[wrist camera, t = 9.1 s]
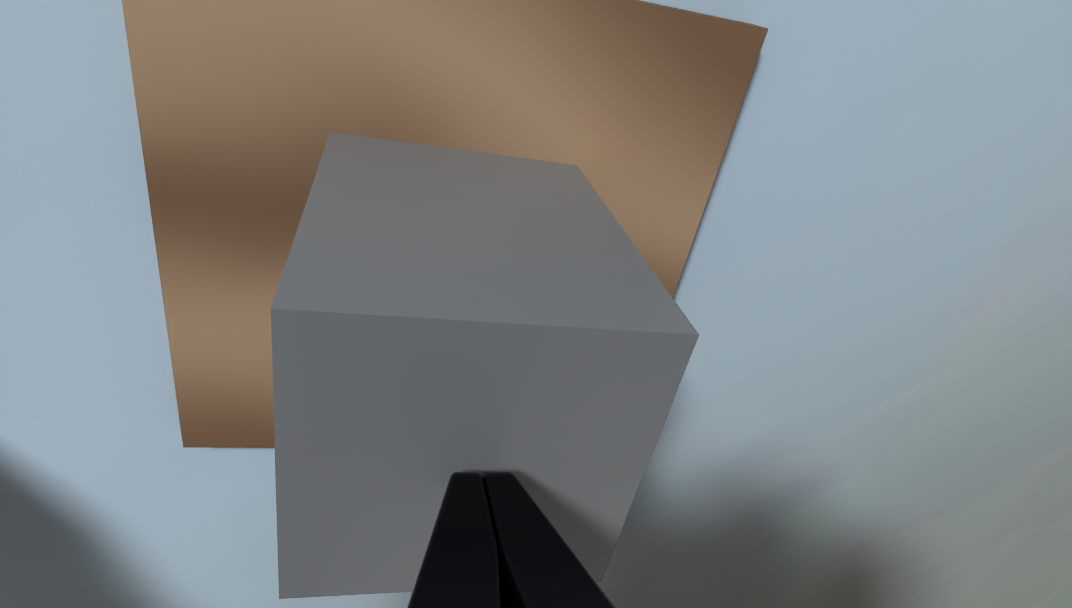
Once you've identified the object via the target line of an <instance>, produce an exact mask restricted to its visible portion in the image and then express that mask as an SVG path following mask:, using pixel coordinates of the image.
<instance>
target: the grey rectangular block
mask: <svg viewBox="0 0 1072 608" xmlns="http://www.w3.org/2000/svg"><path fill="white" fill-rule="evenodd" d="M271 334H272V368H273V402H274V436H275V470H276V504H277V538H278V572H279V599H283V598H302V597H320V596H339V595H357V594H376V593H394V592H412V591H413V590H414V586H415V583H416V580H417V577H418V574H419V571H420V568H421V565H422V562H423V559H424V556H425V553H426V550H427V547H428V544H429V540H430V537H431V534H432V531H433V528H434V525H435V522H436V519H437V516H438V513H439V510H440V507H441V504H442V501H443V497H444V494H445V491H446V488H447V485H448V482H449V479H450V476H451V475H452V473H454V472H479V473H480V474H481V475H482V474H483V473H485V472H503V471H507V472H511V473H513V474H514V475H515V476H516V478H517V479H518V480H519V482H520V483H521V484H522V485H523V487H524V488H525V489H526V491H527V492H528V493H529V495H530V496H531V497H532V499H533V500H534V501H535V503H536V504H537V505H538V507H539V508H540V509H541V511H542V512H543V513H544V514H545V516H546V517H547V518H548V520H549V521H550V522H551V524H552V525H553V526H554V528H555V529H556V530H557V532H558V533H559V534H560V536H561V537H562V538H563V540H564V541H565V542H566V543H567V545H568V546H569V547H570V549H571V550H572V551H573V553H574V554H575V555H576V557H577V558H578V559H579V561H580V562H581V563H582V565H583V566H584V567H585V568H586V570H587V571H588V572H589V574H590V575H591V576H592V578H593V579H594V580H595V582H597V581H601V580H602V578H603V575H604V573H605V570H606V568H607V565H608V563H609V560H610V558H611V555H612V553H613V550H614V548H615V545H616V543H617V540H618V538H619V535H620V533H621V530H622V528H623V525H624V523H625V520H626V517H627V515H628V512H629V510H630V507H631V505H632V502H633V500H634V497H635V495H636V492H637V490H638V487H639V485H640V482H641V480H642V477H643V475H644V472H645V470H646V467H647V465H648V462H649V460H650V457H651V455H652V452H653V450H654V447H655V444H656V442H657V439H658V437H659V434H660V432H661V429H662V427H663V424H664V422H665V419H666V417H667V414H668V412H669V409H670V407H671V404H672V402H673V399H674V397H675V394H676V392H677V389H678V387H679V384H680V382H681V379H682V377H683V374H684V371H685V369H686V366H687V364H688V361H689V359H690V356H691V354H692V351H693V349H694V346H695V344H696V341H697V339H698V336H699V334H698V333H697V331H696V330H695V329H694V327H693V326H692V324H691V323H690V322H689V320H688V319H687V317H686V316H685V315H684V313H683V312H682V310H681V309H680V308H679V306H678V305H677V303H676V302H675V301H674V299H673V298H672V297H671V295H670V294H669V292H668V291H667V290H666V288H665V287H664V285H663V284H662V283H661V281H660V280H659V278H658V277H657V276H656V274H655V273H654V272H653V270H652V269H651V267H650V266H649V265H648V263H647V262H646V260H645V259H644V258H643V256H642V255H641V253H640V252H639V251H638V249H637V248H636V246H635V245H634V244H633V242H632V241H631V240H630V238H629V237H628V235H627V234H626V233H625V231H624V230H623V228H622V227H621V226H620V224H619V223H618V221H617V220H616V219H615V217H614V216H613V215H612V213H611V212H610V210H609V209H608V208H607V206H606V205H605V203H604V202H603V201H602V199H601V198H600V196H599V195H598V194H597V192H596V191H595V189H594V188H593V187H592V185H591V184H590V183H589V181H588V180H587V178H586V177H585V176H584V174H583V173H582V171H581V170H580V169H579V167H578V166H577V165H572V164H564V163H557V162H550V161H542V160H535V159H527V158H520V157H513V156H505V155H498V154H490V153H483V152H475V151H468V150H461V149H453V148H446V147H438V146H431V145H424V144H416V143H409V142H401V141H394V140H386V139H379V138H372V137H364V136H357V135H349V134H342V133H334V132H330V134H329V137H328V140H327V143H326V146H325V148H324V151H323V154H322V157H321V160H320V163H319V166H318V169H317V172H316V175H315V178H314V181H313V184H312V187H311V190H310V193H309V196H308V199H307V202H306V205H305V208H304V211H303V214H302V217H301V220H300V223H299V226H298V229H297V232H296V235H295V238H294V241H293V244H292V247H291V250H290V253H289V256H288V259H287V262H286V265H285V268H284V271H283V274H282V277H281V280H280V283H279V285H278V288H277V291H276V294H275V297H274V300H273V303H272V306H271Z"/></svg>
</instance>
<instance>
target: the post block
mask: <svg viewBox="0 0 1072 608" xmlns="http://www.w3.org/2000/svg"><path fill="white" fill-rule="evenodd" d="M122 4H123V11H124V19H125V26H126V33H127V40H128V48H129V55H130V62H131V69H132V77H133V84H134V91H135V99H136V106H137V113H138V120H139V128H140V135H141V142H142V149H143V157H144V164H145V171H146V179H147V186H148V193H149V200H150V208H151V215H152V222H153V229H154V237H155V244H156V251H157V259H158V266H159V273H160V280H161V288H162V295H163V302H164V309H165V317H166V324H167V331H168V339H169V346H170V353H171V360H172V368H173V375H174V382H175V389H176V397H177V404H178V411H179V419H180V426H181V433H182V440H183V447H243V448H275V436H274V402H273V368H272V334H271V306H272V303H273V300H274V297H275V294H276V291H277V288H278V285H279V283H280V280H281V277H282V274H283V271H284V268H285V265H286V262H287V259H288V256H289V253H290V250H291V247H292V244H293V241H294V238H295V235H296V232H297V229H298V226H299V223H300V220H301V217H302V214H303V211H304V208H305V205H306V202H307V199H308V196H309V193H310V190H311V187H312V184H313V181H314V178H315V175H316V172H317V169H318V166H319V163H320V160H321V157H322V154H323V151H324V148H325V146H326V143H327V140H328V137H329V134H330V132H334V133H342V134H349V135H357V136H364V137H372V138H379V139H386V140H394V141H401V142H409V143H416V144H424V145H431V146H438V147H446V148H453V149H461V150H468V151H475V152H483V153H490V154H498V155H505V156H513V157H520V158H527V159H535V160H542V161H550V162H557V163H564V164H572V165H577V166H578V167H579V169H580V170H581V171H582V173H583V174H584V176H585V177H586V178H587V180H588V181H589V183H590V184H591V185H592V187H593V188H594V189H595V191H596V192H597V194H598V195H599V196H600V198H601V199H602V201H603V202H604V203H605V205H606V206H607V208H608V209H609V210H610V212H611V213H612V215H613V216H614V217H615V219H616V220H617V221H618V223H619V224H620V226H621V227H622V228H623V230H624V231H625V233H626V234H627V235H628V237H629V238H630V240H631V241H632V242H633V244H634V245H635V246H636V248H637V249H638V251H639V252H640V253H641V255H642V256H643V258H644V259H645V260H646V262H647V263H648V265H649V266H650V267H651V269H652V270H653V272H654V273H655V274H656V276H657V277H658V278H659V280H660V281H661V283H662V284H663V285H664V287H665V288H666V290H667V291H668V292H669V294H670V295H671V297H672V298H673V296H674V293H675V291H676V288H677V285H678V282H679V279H680V276H681V274H682V271H683V268H684V265H685V262H686V259H687V257H688V254H689V251H690V248H691V245H692V242H693V240H694V237H695V234H696V231H697V228H698V226H699V223H700V220H701V217H702V214H703V211H704V209H705V206H706V203H707V200H708V197H709V194H710V192H711V189H712V186H713V183H714V180H715V178H716V175H717V172H718V169H719V166H720V163H721V161H722V158H723V155H724V152H725V149H726V146H727V144H728V141H729V138H730V135H731V132H732V130H733V127H734V124H735V121H736V118H737V115H738V113H739V110H740V107H741V104H742V101H743V98H744V96H745V93H746V90H747V87H748V84H749V82H750V79H751V76H752V73H753V70H754V67H755V65H756V62H757V59H758V56H759V53H760V50H761V48H762V45H763V42H764V39H765V36H766V34H767V31H768V29H767V28H763V27H760V26H757V25H753V24H748V23H743V22H739V21H734V20H729V19H724V18H720V17H715V16H710V15H705V14H701V13H696V12H691V11H687V10H682V9H677V8H672V7H668V6H663V5H658V4H653V3H649V2H644V1H639V0H122Z"/></svg>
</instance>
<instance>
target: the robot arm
mask: <svg viewBox="0 0 1072 608" xmlns="http://www.w3.org/2000/svg"><path fill="white" fill-rule="evenodd" d="M408 608H615V607H614V605H613V604H612V603H611V601H610V600H609V599H608V597H607V596H606V595H605V594H604V592H603V591H602V590H601V588H600V587H599V586H598V584H597V583H596V582H595V580H594V579H593V578H592V576H591V575H590V574H589V572H588V571H587V570H586V568H585V567H584V566H583V565H582V563H581V562H580V561H579V559H578V558H577V557H576V555H575V554H574V553H573V551H572V550H571V549H570V547H569V546H568V545H567V543H566V542H565V541H564V540H563V538H562V537H561V536H560V534H559V533H558V532H557V530H556V529H555V528H554V526H553V525H552V524H551V522H550V521H549V520H548V518H547V517H546V516H545V514H544V513H543V512H542V511H541V509H540V508H539V507H538V505H537V504H536V503H535V501H534V500H533V499H532V497H531V496H530V495H529V493H528V492H527V491H526V489H525V488H524V487H523V485H522V484H521V483H520V482H519V480H518V479H517V478H516V476H515V475H514V474H513V473H511V472H507V471H503V472H485V473H483V474H482V475H481V474H480V473H479V472H454V473H452V475H451V476H450V479H449V482H448V485H447V488H446V491H445V494H444V497H443V501H442V504H441V507H440V510H439V513H438V516H437V519H436V522H435V525H434V528H433V531H432V534H431V537H430V540H429V544H428V547H427V550H426V553H425V556H424V559H423V562H422V565H421V568H420V571H419V574H418V577H417V580H416V583H415V586H414V590H413V593H412V596H411V599H410V602H409V605H408Z"/></svg>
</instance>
